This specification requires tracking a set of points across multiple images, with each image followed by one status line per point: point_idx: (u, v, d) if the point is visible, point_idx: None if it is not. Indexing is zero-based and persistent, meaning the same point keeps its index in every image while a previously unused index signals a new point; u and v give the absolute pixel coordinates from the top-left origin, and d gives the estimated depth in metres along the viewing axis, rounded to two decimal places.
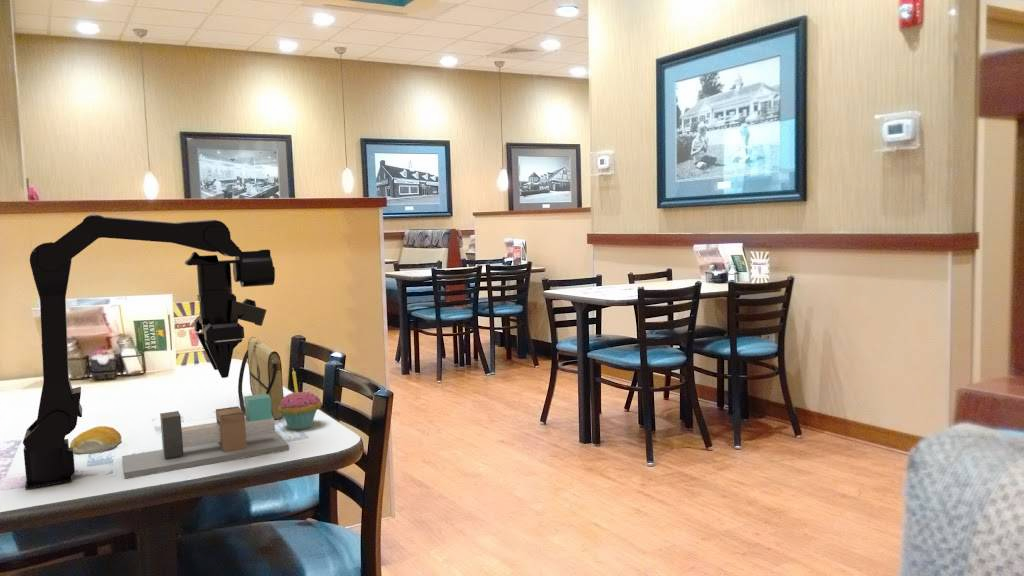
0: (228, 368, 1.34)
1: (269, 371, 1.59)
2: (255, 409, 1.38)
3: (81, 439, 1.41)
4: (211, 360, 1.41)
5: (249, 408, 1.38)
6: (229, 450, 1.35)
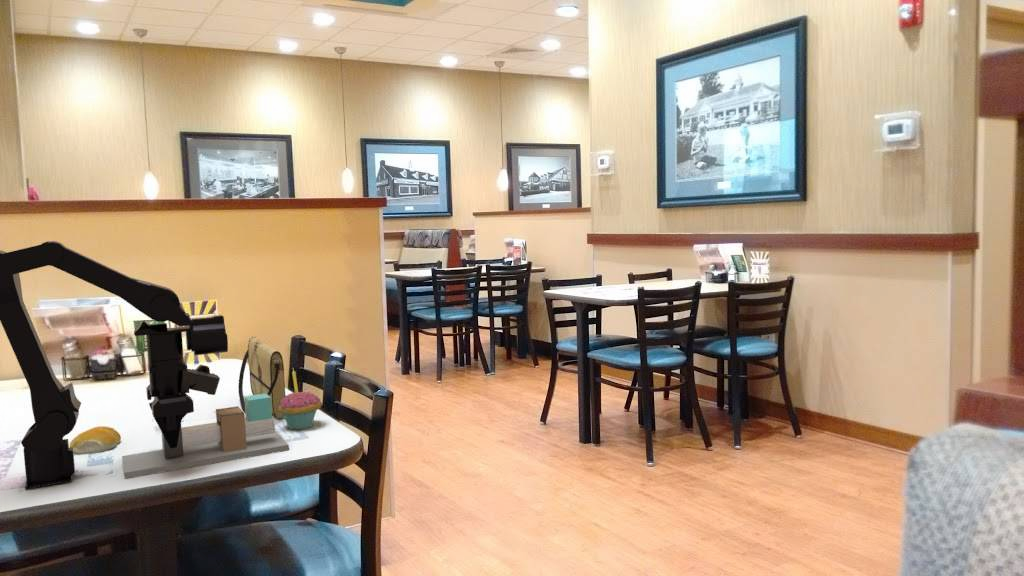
0: (177, 438, 1.31)
1: (271, 371, 1.59)
2: (255, 409, 1.38)
3: (81, 440, 1.41)
4: None
5: (249, 408, 1.38)
6: (229, 450, 1.35)
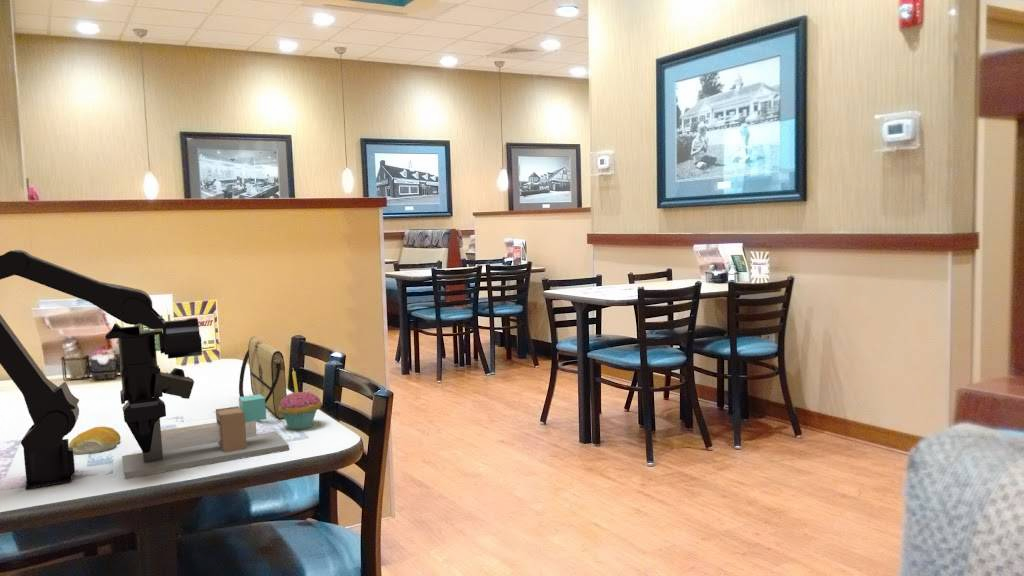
0: (150, 443, 1.29)
1: (272, 371, 1.60)
2: (249, 410, 1.38)
3: (81, 440, 1.41)
4: None
5: (243, 409, 1.37)
6: (229, 450, 1.35)
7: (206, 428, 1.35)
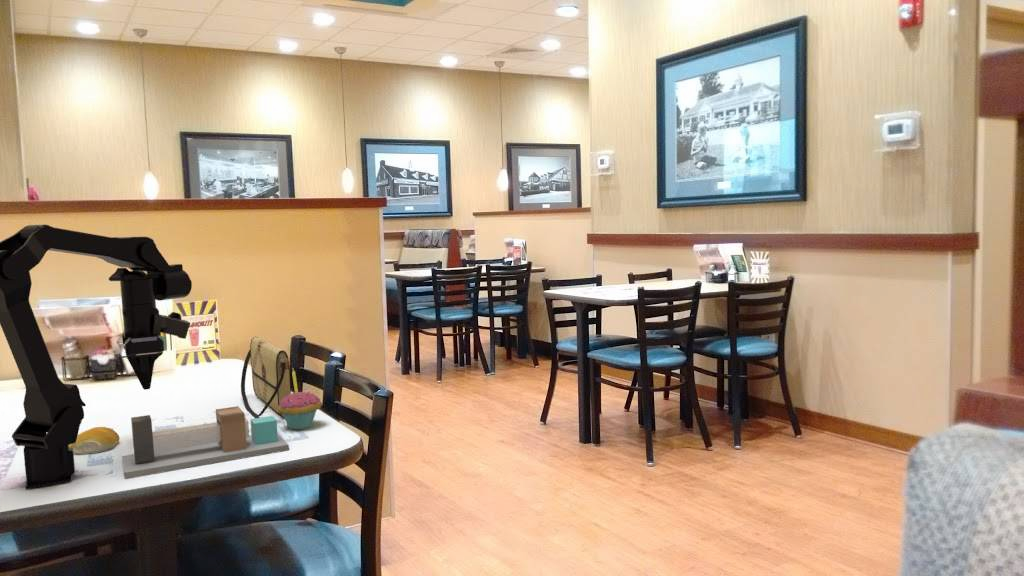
0: (150, 380, 1.38)
1: (277, 370, 1.60)
2: (267, 427, 1.40)
3: (79, 440, 1.40)
4: None
5: (268, 422, 1.40)
6: (229, 450, 1.35)
7: (198, 429, 1.34)
